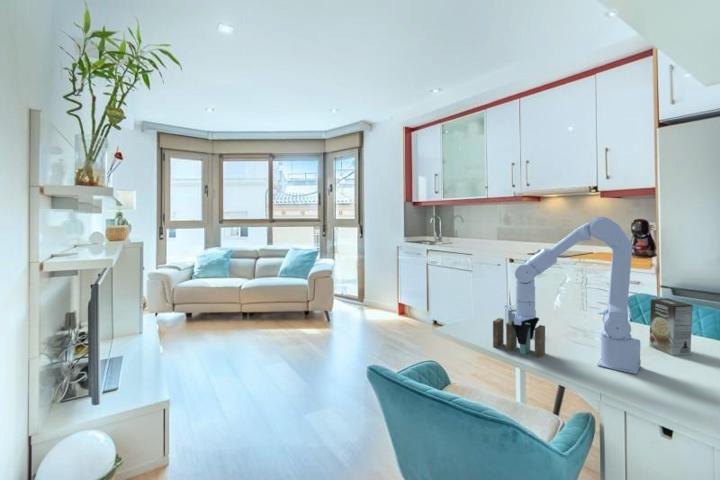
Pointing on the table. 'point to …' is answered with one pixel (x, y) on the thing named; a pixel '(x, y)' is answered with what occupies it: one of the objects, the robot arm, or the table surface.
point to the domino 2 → (526, 347)
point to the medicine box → (509, 313)
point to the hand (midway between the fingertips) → (525, 341)
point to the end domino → (498, 332)
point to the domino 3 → (539, 341)
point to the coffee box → (671, 326)
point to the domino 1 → (510, 337)
